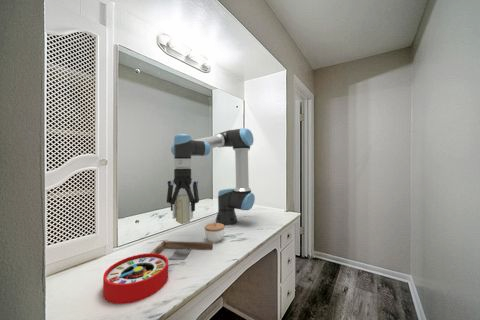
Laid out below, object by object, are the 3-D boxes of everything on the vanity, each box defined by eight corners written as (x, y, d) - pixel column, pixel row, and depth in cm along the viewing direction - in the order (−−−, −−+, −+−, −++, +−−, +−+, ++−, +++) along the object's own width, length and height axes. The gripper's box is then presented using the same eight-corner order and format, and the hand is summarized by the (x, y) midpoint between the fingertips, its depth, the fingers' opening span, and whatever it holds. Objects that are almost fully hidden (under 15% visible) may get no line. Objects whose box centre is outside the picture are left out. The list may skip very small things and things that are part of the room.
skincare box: (175, 221, 88) (175, 195, 88) (184, 219, 91) (184, 193, 91) (181, 224, 83) (181, 196, 83) (190, 222, 86) (190, 195, 86)
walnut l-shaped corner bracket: (163, 247, 95) (163, 241, 95) (212, 248, 93) (212, 242, 93) (145, 264, 79) (145, 257, 79) (204, 266, 77) (204, 259, 77)
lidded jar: (221, 245, 97) (221, 226, 97) (201, 243, 99) (201, 225, 99) (226, 237, 107) (226, 220, 108) (208, 235, 110) (208, 219, 110)
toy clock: (178, 265, 68) (113, 294, 53) (178, 282, 68) (113, 315, 53) (154, 248, 81) (96, 268, 66) (154, 262, 81) (96, 284, 66)
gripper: (157, 168, 84) (157, 220, 84) (201, 168, 82) (201, 221, 82) (166, 167, 92) (166, 215, 92) (206, 167, 90) (206, 216, 89)
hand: (182, 218), depth 87 cm, fingers closed on skincare box, 7 cm apart
